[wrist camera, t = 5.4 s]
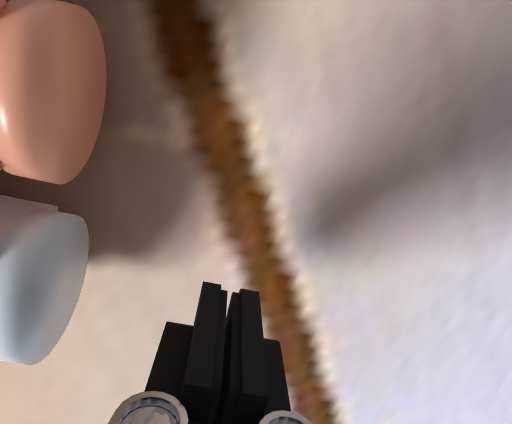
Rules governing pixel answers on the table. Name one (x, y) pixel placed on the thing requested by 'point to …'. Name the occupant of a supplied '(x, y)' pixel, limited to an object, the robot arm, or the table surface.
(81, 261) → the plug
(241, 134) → the table surface
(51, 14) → the plug terracotta
